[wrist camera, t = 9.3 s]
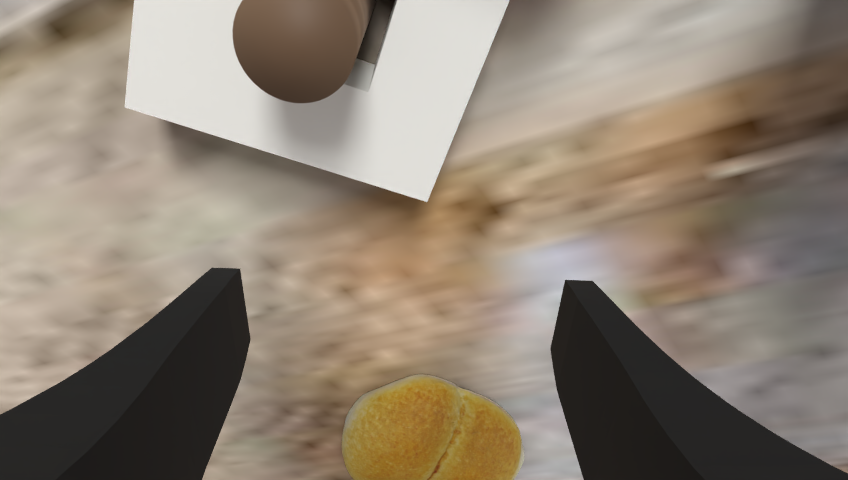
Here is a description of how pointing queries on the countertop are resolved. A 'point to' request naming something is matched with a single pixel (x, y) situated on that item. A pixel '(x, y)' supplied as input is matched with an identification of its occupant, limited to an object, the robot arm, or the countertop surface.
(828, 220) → the countertop surface
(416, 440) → the bread roll
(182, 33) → the socket block
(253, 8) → the peg
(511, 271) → the countertop surface
